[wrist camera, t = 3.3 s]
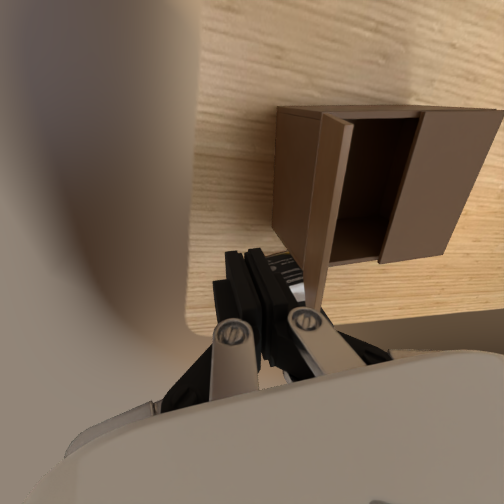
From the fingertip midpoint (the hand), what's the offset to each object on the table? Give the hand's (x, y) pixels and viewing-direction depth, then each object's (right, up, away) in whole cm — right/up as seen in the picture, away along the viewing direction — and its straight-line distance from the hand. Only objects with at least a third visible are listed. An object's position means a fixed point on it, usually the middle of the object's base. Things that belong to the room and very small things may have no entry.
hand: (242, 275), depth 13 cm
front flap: (+5, +3, +5) cm, 7 cm away
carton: (+10, +11, +18) cm, 23 cm away
